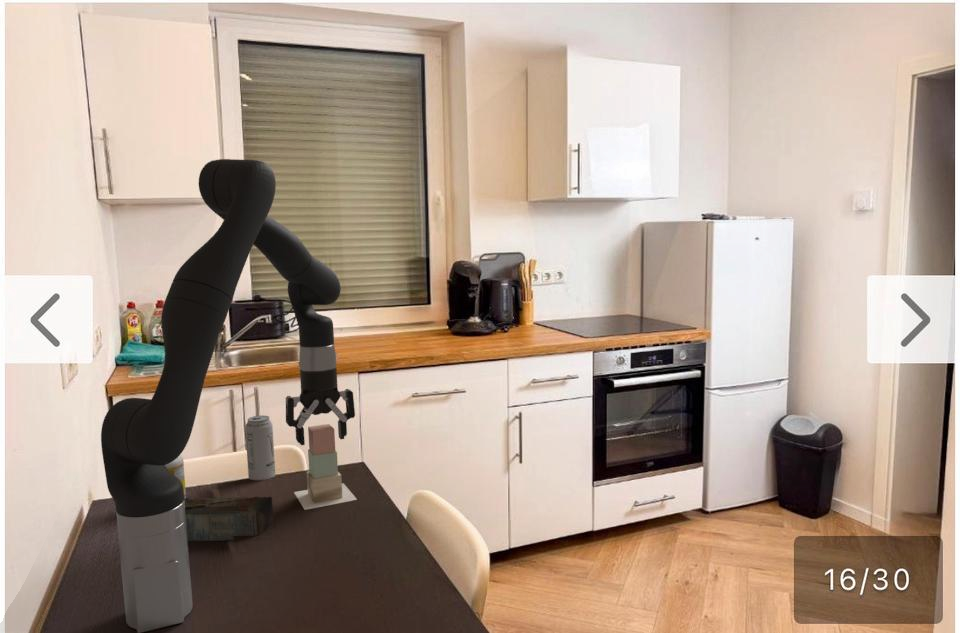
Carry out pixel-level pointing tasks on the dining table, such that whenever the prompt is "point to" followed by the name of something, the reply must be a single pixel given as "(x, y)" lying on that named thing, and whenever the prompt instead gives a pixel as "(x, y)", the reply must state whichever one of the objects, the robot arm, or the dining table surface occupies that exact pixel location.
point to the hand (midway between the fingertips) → (322, 441)
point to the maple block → (324, 488)
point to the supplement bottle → (178, 470)
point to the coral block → (321, 439)
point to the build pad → (309, 504)
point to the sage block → (323, 464)
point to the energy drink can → (260, 448)
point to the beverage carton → (227, 517)
